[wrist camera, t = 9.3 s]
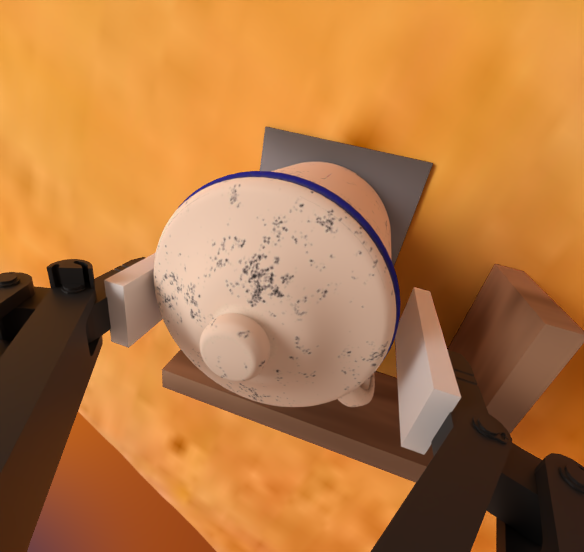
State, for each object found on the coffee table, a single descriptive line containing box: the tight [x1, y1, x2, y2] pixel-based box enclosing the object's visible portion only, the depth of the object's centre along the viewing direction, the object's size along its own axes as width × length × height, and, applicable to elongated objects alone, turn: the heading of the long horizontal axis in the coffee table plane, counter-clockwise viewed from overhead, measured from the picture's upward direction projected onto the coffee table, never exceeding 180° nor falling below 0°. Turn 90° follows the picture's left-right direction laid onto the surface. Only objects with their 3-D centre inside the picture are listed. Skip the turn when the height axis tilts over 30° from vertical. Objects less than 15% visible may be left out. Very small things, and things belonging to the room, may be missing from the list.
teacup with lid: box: [154, 162, 400, 407], centre depth 14 cm, size 12×9×12 cm
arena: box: [162, 127, 584, 482], centre depth 17 cm, size 16×18×6 cm
